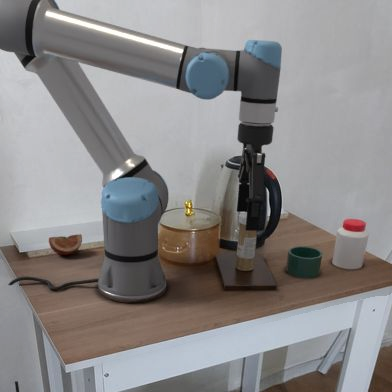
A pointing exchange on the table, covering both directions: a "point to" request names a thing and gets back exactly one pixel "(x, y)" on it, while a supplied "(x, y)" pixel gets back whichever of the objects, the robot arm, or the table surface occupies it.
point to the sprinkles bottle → (245, 246)
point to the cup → (304, 262)
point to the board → (244, 274)
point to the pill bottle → (350, 244)
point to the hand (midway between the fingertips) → (246, 220)
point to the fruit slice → (65, 244)
